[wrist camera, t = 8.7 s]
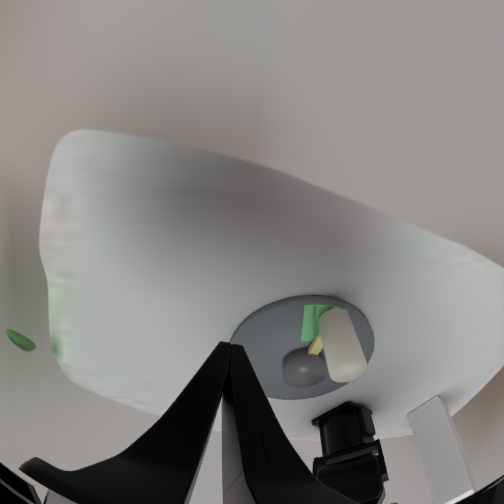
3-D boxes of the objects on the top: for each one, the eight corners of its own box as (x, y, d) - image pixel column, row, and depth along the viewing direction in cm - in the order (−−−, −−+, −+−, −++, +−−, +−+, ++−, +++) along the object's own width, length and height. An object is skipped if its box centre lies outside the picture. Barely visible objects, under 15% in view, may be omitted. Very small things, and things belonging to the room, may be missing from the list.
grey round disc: (298, 404, 29) (299, 412, 28) (201, 357, 25) (199, 365, 24) (394, 340, 24) (398, 348, 23) (304, 264, 20) (307, 272, 19)
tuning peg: (313, 377, 25) (320, 426, 19) (276, 372, 24) (278, 423, 19) (359, 308, 21) (382, 360, 15) (316, 298, 20) (331, 354, 15)
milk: (406, 413, 32) (435, 525, 12) (437, 393, 30) (476, 505, 10) (417, 420, 34) (444, 519, 14) (445, 402, 32) (479, 501, 12)
